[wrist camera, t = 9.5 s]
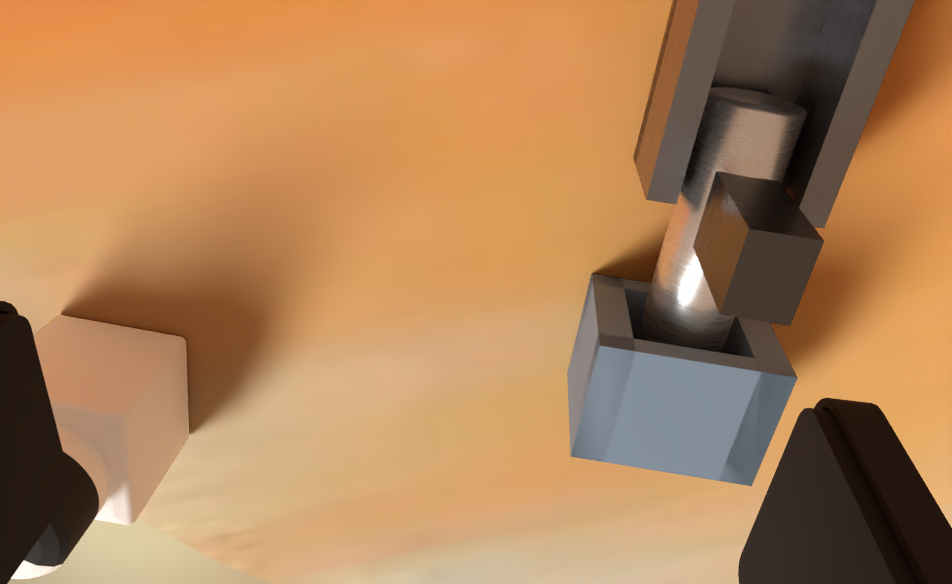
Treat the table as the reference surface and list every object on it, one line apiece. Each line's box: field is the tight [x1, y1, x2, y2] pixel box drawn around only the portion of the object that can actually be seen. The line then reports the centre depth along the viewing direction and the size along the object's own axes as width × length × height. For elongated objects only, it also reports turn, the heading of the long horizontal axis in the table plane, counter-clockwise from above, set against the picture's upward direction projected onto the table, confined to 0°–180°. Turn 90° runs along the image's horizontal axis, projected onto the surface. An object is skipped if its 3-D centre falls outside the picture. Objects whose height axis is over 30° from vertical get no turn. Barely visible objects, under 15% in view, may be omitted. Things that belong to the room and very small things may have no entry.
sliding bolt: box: [635, 87, 824, 353], centre depth 30 cm, size 14×4×9 cm, turn 172°
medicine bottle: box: [12, 315, 189, 579], centre depth 37 cm, size 7×7×12 cm
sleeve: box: [634, 0, 915, 228], centre depth 29 cm, size 12×7×5 cm, turn 172°
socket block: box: [568, 274, 797, 486], centre depth 35 cm, size 6×8×6 cm
